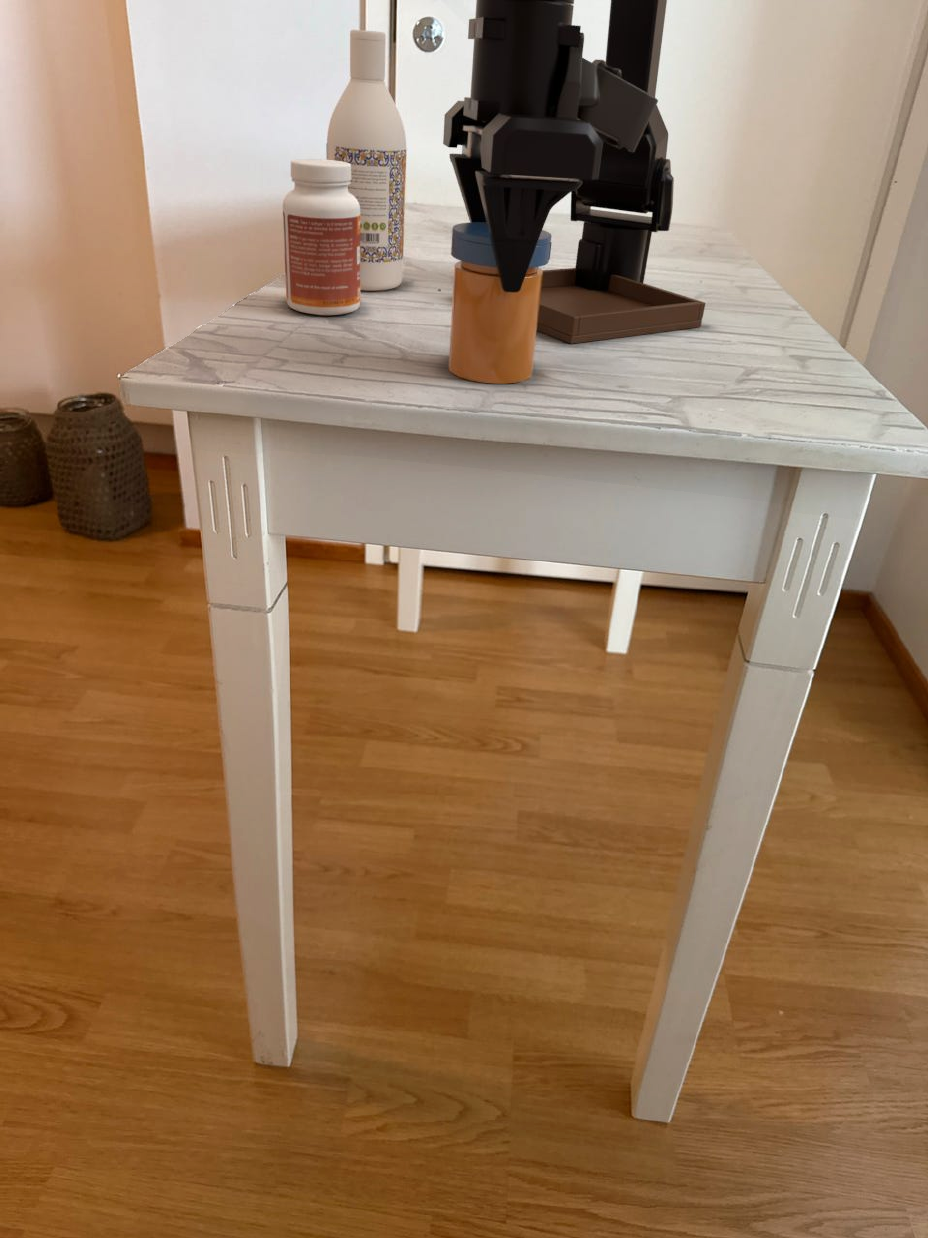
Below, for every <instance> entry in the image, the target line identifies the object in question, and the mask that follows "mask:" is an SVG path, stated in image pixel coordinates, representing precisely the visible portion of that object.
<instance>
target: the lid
mask: <svg viewBox="0 0 928 1238" xmlns="http://www.w3.org/2000/svg"><path fill="white" fill-rule="evenodd" d="M451 229H452V230H451V246H450V247H451V248H450V249H451V250H450V255H451V257H452V258H454V259H455V260H458V261H463V262H467V263H471V264H476V265H482V266H489V267H497V265H496V261H495V256H494V252H493V248H492V243H491V239H490V235H489V230H488V226H487V222H470V221H469V222H461V223H457V224H455V225H453V226H452V228H451ZM552 243H553V242H552V234H551V232H549V231H547V230H545V229H542V231H541V234H540V237H539V240H538V242H537V245H536V248H535V251H534V253H533V256H532V259H531V262H530V265H529V267H528V268H534V267H539V268H540V267H543V266H546V265H548V264H549V261H550V260H551V252H552V251H551V250H552Z"/></svg>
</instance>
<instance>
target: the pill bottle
mask: <svg viewBox="0 0 928 1238" xmlns="http://www.w3.org/2000/svg"><path fill="white" fill-rule="evenodd" d="M290 177H291V182H292V183H294V188H293V189H292V190H290V191H289V192H288V193H286V195H285V196H284V198H283V201H282V224H283V249H284V275H285V296H286V303H287V305H288V307H289V308H290V309H292V310H295V311H296V312H300V313H305V314H309V315H315V316H340V315H345V314H351V313H353V312H355V311H357V310H358V309H359V308H360V305H361V290H360V205H359V202H358V200H357V199H356V198H355V197H354V196H353V195H352V194H350V193H349V192H348V185H349V184H350V183H351V182H350V181H351V164H350V163H347V162H342V161H334V160H327V159H323V158H321V159H319V158H296V159H291V160H290Z"/></svg>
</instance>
